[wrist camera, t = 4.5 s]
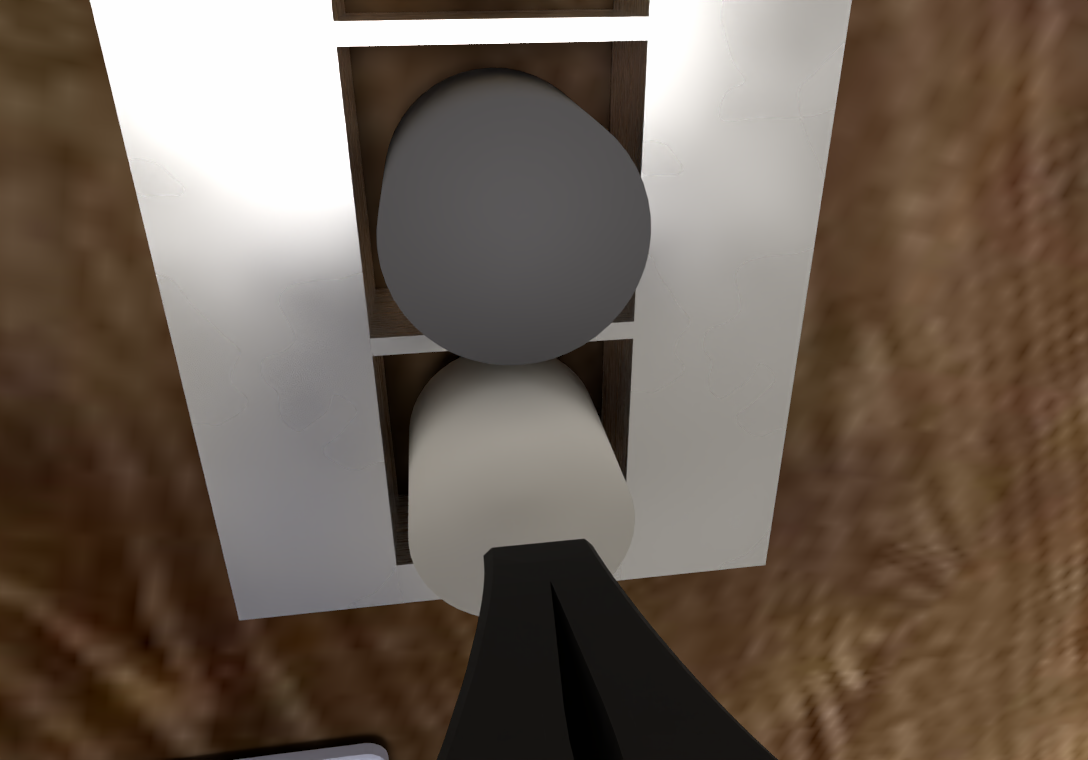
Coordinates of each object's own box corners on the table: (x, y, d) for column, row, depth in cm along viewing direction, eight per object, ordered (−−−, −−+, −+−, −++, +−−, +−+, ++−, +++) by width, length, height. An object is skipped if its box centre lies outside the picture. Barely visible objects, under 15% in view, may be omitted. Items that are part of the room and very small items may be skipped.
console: (726, 499, 18) (765, 564, 16) (260, 543, 17) (238, 620, 15) (835, -408, 11) (926, -491, 9) (48, -451, 10) (-45, -556, 8)
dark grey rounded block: (599, 280, 14) (644, 356, 11) (394, 292, 13) (390, 374, 10) (604, 65, 12) (659, 92, 9) (373, 70, 12) (361, 101, 9)
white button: (593, 499, 16) (630, 607, 13) (416, 515, 15) (417, 631, 13) (597, 340, 14) (640, 426, 11) (400, 352, 14) (398, 445, 11)
